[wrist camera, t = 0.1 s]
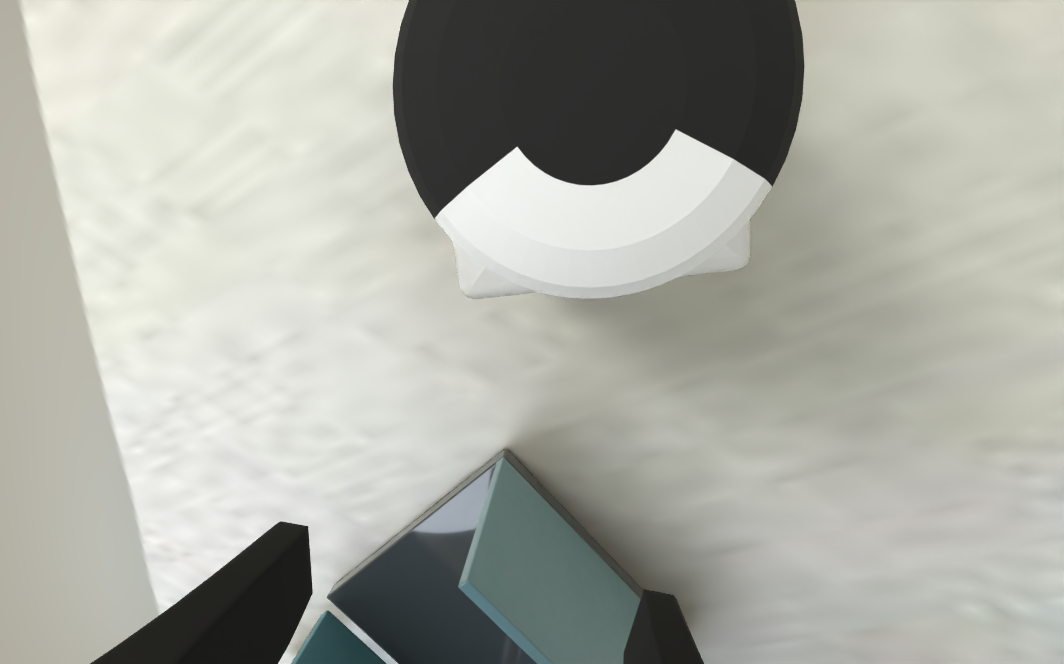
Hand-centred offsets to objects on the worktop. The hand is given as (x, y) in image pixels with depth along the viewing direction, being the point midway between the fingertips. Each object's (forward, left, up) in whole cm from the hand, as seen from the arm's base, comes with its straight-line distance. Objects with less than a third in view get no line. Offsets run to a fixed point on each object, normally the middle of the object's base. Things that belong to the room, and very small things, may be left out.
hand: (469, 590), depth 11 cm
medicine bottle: (+8, +6, -11) cm, 14 cm away
